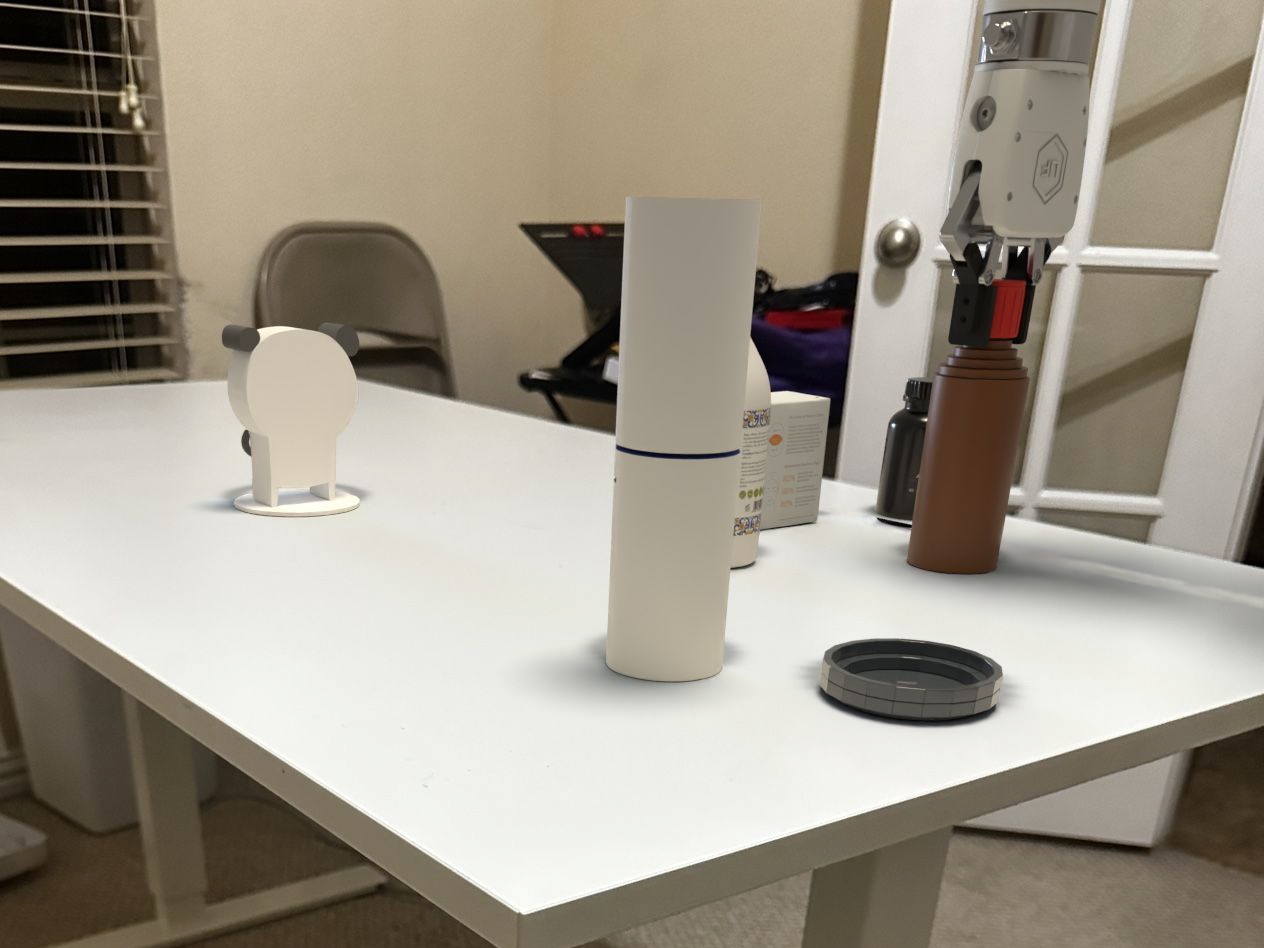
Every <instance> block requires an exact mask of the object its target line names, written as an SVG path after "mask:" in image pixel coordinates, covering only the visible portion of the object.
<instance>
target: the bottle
mask: <svg viewBox="0 0 1264 948" xmlns="http://www.w3.org/2000/svg"><path fill="white" fill-rule="evenodd" d="M1012 346H1013V344H1012V339H1008V338H990V340H989V343H988V345H987V346H986V347H973V346H963V345H954V348H953V353H950V354H947V355H946V357H945V361H944V362H940V363H938V366H937V371H935V372H933V377H932V378H933V383H932V390H931V397H930V404H929V411H928V418H927V424H926V431H925V438H924V445H923V452H922V459H921V466H920V473H919V479H918V486H917V493H916V500H915V507H914V514H913V521H911V525H912V528H910V535H909V541H908V548H907V556H906V562H907V563H908V564H910V565H911V566H913V567H916V568H918V569H921V570H926V571H930V572H938V573H945V574H957V575H958V574H960V575H977V574H984V573H985V574H986V573H989V572H993V571H994V570H996V569H997V567H998V562H999V558H1000V557H999V556H1000V550H1001V545H1002V539H1003V535H1004V528H1005V522H1006V517H1007V511H1008V507H1009V501H1010V500H1009V499H1010V495H1011V489H1012V482H1013V479H1014V478H1013V477H1014V471H1015V467H1016V460H1017V455H1018V449H1019V444H1020V438H1021V432H1022V428H1023V427H1022V426H1023V421H1024V416H1025V409H1026V404H1027V399H1028V393H1029V387H1030V381H1031V377H1030V376H1028V375H1029V374H1028V373H1029V368H1028V367H1027V366H1024V365H1023V362H1024V359H1023V358H1022V357H1019V356H1018V352H1019V349H1018V348H1016V347H1012Z"/></svg>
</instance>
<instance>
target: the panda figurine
mask: <svg viewBox="0 0 1264 948" xmlns="http://www.w3.org/2000/svg"><path fill="white" fill-rule="evenodd" d="M221 344H222V346H223V347H224V348H226V349H230V350H232V353H231V357H230V360H229V361H230V362H229V366H228V371H227V383H226V384H227V395H228V400H229V404H230V407H231V409H232V411H233V414H234V416H235V417H236V419H237V420H238V421H239V423H240V424H241V425H242V426H243V427H244V428H245V429H244V431H243V432H242V434H241V437H240V438H241V439H240V443H241V447H242V450H243V451H244V452H245V454H246V455H248V456H249V457H250V458H251V473H252V479H251V480H252V482H251V485H252V487H251V488H252V492H250V493H246V494H243V495H240V496H238V497H236V498H235V499H234V500H233V502H234V503H233V504H234V507H235V508H236V509H237V510H239V511H242V512H245V513H249V514H253V515H259V516H260V515H262V516H269V517H270V516H272V517H294V518H295V517H319V516H329V515H336V514H341V513H346V512H350V511H353V510H355V509H357V508H359V507H360V505H361V500H360V498H359V497H358V496H356V495H354V494H350V493H348V492H343V491H337V490H336V480H337V479H336V478H337V475H336V474H337V473H336V472H337V445H338V444H337V441H338V437H339V436H340V435H341V434H342V433H343V432H344V431H345V429H346V428H347V427H348V426H349V424H350V423H351V421H352V419H353V417H354V414H355V412H356V410H357V406H358V402H359V397H360V395H359V393H360V392H359V383H358V378H357V375H356V371H355V369H354V366H353V364H352V362H351V360H350V358H349V357H354V356H356V355H357V353H358V352H359V349H360V339H359V336H358V333H357V331H356V330H355V329H354V328H353V327H352V326H349V325H348V324H340V323H335V322H334V323H333V322H328V321H327V322H323V323H321V324H320V326H319V327H318V329H317V331H316V330H311V329H306V328H297V327H293V326H292V327H291V326H283V325H278V326H267V327H262V328H261V327H260V328H257V329H256V328H255V327H249V326H244V325H238V324H227V325H225V326H224V327H223V329H222V332H221ZM279 488H281V489H279Z"/></svg>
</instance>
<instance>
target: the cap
mask: <svg viewBox="0 0 1264 948" xmlns="http://www.w3.org/2000/svg"><path fill="white" fill-rule="evenodd" d="M1025 285H1026V281H1022V280H1006V279H1001V278H994V280H993V282H992V284H991V285H990V286H998V290H997V297H996V303H995V309H994V315H993V322H992V328H991V334H990V338H1015V337H1017V333H1018V332H1019V326H1020V320H1021V314H1022V309H1023V303H1024V297H1025V291H1026V290H1025Z"/></svg>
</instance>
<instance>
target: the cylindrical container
mask: <svg viewBox="0 0 1264 948" xmlns="http://www.w3.org/2000/svg"><path fill="white" fill-rule="evenodd" d="M762 203H763V200H762V199H746V198H743V199H742V198H711V197H710V198H708V197H707V198H706V197H704V198H703V197H665V196H664V197H662V196H661V197H659V196H658V197H654V196H625V209H624V232H623V257H622V276H621V277H622V278H621V280H622V281H621V299H620V301H621V303H620V305H621V306H620V321H619V323H620V324H619V325H620V326H619V346H618V369H617V370H618V371H617V372H618V373H617V391H616V393H617V395H616V415H615V419H616V420H615V439H614V440H615V441H614V463H613V464H614V465H613V476H614V478H613V488H612V489H613V490H612V509H611V510H612V512H611V534H610V535H611V537H610V556H609V557H610V559H609V580H608V581H609V584H608V585H609V586H608V607H607V608H608V609H607V628H606V655H605V664H606V665H607V667H608V668H609V669H610V670H611V671H614V672H615V673H618V674H620V675H623V676H626V677H630V678H633V679H638V680H639V679H640V680H644V681H653V682H654V681H655V682H688V681H690V682H691V681H698V680H704V679H707V678H711V677H712V676H716V675H718V674H719V673H720V672H722V671H721V670H722V669H723V664H724V650H725V639H726V626H727V616H728V604H729V603H728V602H729V591H730V578H731V569H732V568H731V557H732V545H733V534H734V522H735V510H736V499H737V487H738V476H739V464H740V450H739V448H740V447H741V441H742V429H743V417H744V405H745V393H746V381H747V369H748V357H749V345H750V337H751V331H752V319H753V308H754V299H755V298H754V296H755V287H756V286H755V285H756V273H757V261H758V252H759V251H758V250H759V239H760V228H761V227H760V226H761V218H762V217H761V215H762Z"/></svg>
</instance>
